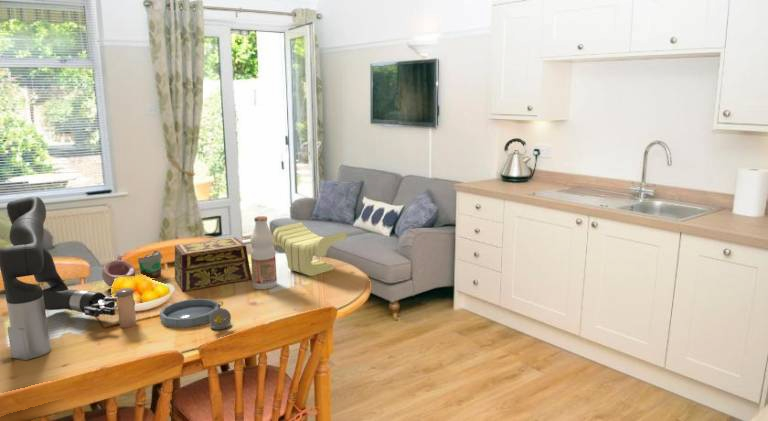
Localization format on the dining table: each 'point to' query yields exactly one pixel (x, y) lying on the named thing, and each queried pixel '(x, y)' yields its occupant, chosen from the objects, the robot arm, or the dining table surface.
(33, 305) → the robot arm
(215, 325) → the grey rounded piece
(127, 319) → the spice jar
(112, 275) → the mortar and pestle
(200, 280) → the decorative box
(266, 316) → the dining table surface
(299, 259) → the slatted curved stool
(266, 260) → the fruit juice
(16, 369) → the dining table surface
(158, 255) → the food container
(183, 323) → the round tray
